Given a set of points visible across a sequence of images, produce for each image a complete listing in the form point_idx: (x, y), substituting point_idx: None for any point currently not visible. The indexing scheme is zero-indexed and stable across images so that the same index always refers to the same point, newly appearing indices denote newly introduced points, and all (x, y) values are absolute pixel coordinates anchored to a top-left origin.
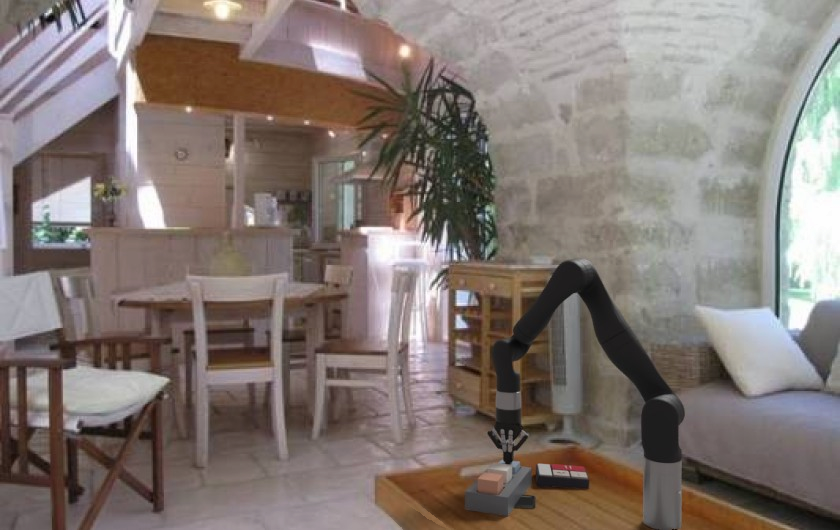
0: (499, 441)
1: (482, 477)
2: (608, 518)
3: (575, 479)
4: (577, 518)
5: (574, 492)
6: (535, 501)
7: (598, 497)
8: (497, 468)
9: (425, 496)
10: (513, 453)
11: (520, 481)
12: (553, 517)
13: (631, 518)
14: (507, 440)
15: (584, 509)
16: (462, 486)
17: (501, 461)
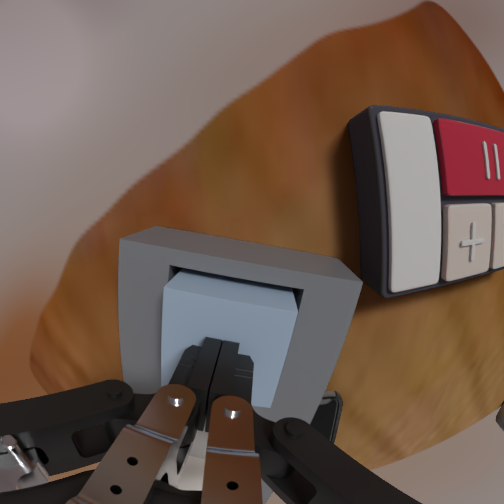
0: (92, 420)
1: None
2: (464, 421)
3: (493, 271)
4: (412, 446)
5: (464, 305)
6: (337, 428)
7: (498, 322)
8: (197, 488)
9: (52, 390)
10: (250, 399)
11: None
12: (365, 460)
13: (495, 402)
14: (170, 471)
15: (444, 406)
16: (83, 325)
17: (170, 328)
